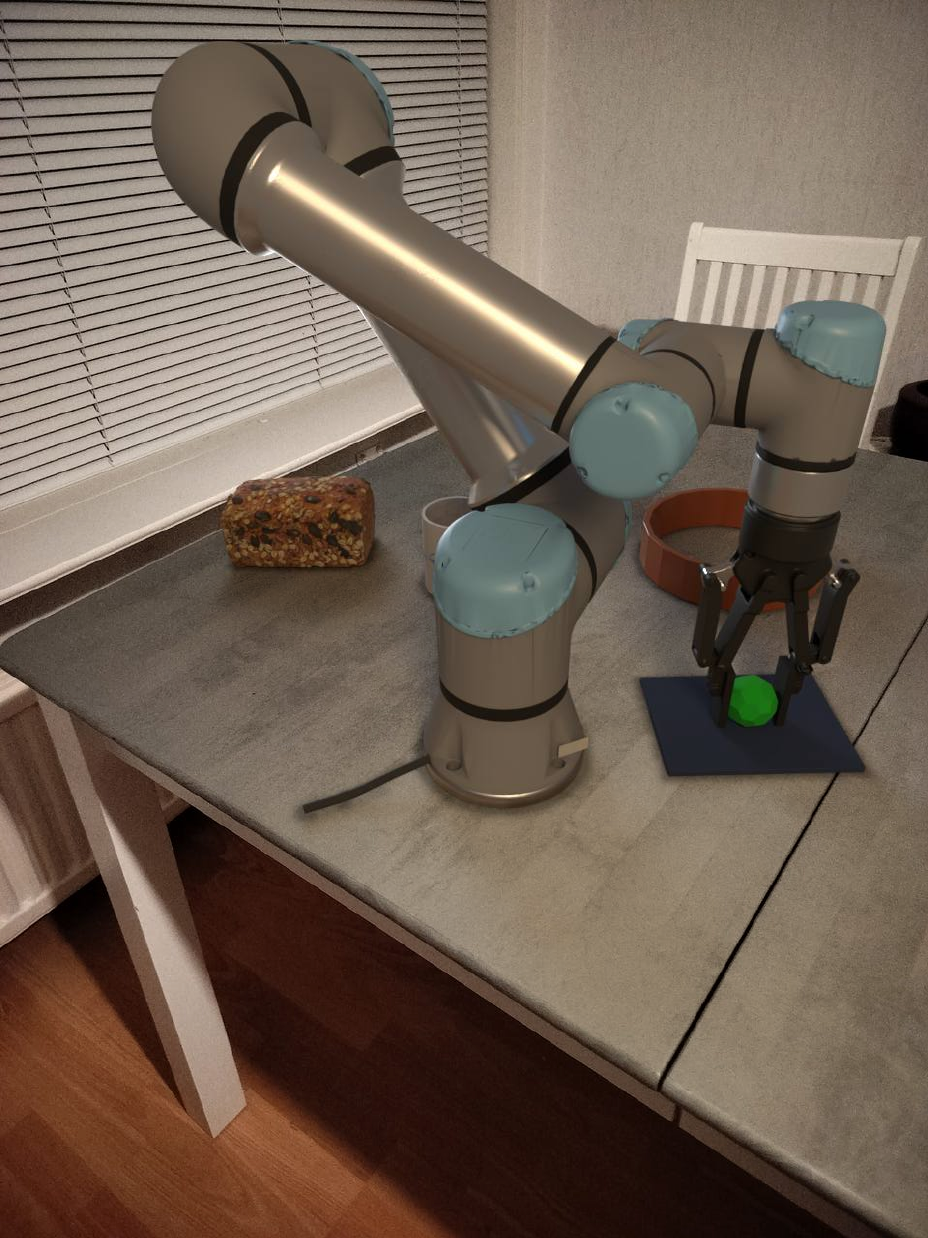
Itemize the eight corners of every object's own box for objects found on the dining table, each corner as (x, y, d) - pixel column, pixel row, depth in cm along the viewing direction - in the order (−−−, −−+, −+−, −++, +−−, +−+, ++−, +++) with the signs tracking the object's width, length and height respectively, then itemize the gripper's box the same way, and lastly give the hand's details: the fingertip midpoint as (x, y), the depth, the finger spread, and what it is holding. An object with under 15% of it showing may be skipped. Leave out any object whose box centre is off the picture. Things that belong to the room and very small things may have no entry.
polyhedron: (736, 741, 78) (745, 702, 76) (710, 708, 82) (717, 671, 80) (782, 730, 80) (792, 692, 77) (754, 699, 83) (763, 661, 81)
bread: (379, 533, 116) (373, 467, 110) (366, 572, 107) (358, 503, 101) (250, 531, 117) (237, 466, 112) (226, 569, 109) (211, 500, 103)
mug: (425, 566, 108) (421, 497, 102) (490, 564, 108) (490, 495, 103) (425, 619, 98) (421, 545, 92) (497, 616, 98) (497, 542, 92)
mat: (668, 776, 76) (669, 772, 75) (639, 681, 87) (640, 677, 87) (864, 772, 76) (866, 767, 75) (809, 677, 87) (811, 673, 87)
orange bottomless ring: (659, 614, 98) (664, 574, 95) (626, 525, 116) (630, 489, 113) (850, 609, 98) (861, 569, 95) (786, 521, 116) (794, 485, 113)
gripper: (883, 480, 71) (823, 691, 84) (674, 486, 71) (647, 695, 84) (924, 520, 65) (853, 741, 78) (695, 526, 65) (662, 746, 78)
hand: (746, 717), depth 81 cm, fingers closed on polyhedron, 5 cm apart
